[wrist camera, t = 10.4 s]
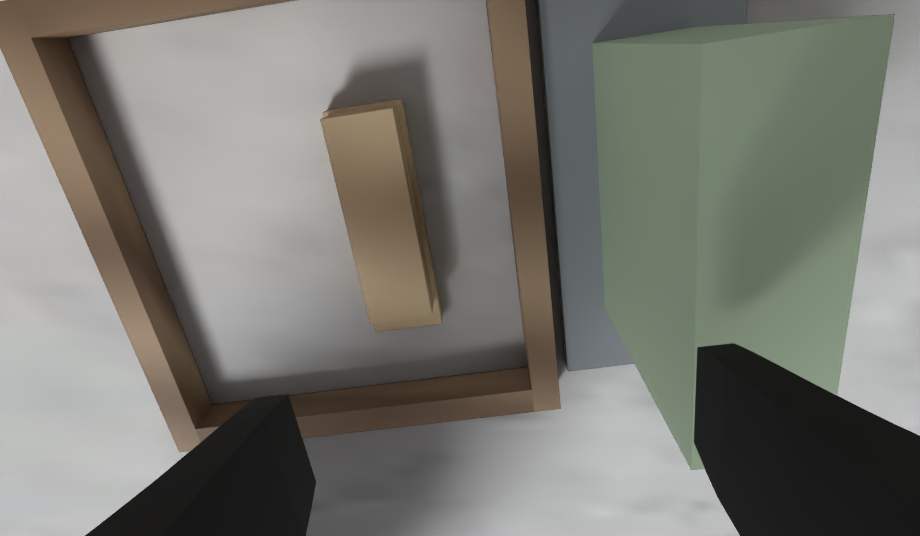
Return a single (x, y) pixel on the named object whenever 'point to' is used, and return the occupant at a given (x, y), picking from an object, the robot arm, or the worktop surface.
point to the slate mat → (594, 148)
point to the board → (735, 194)
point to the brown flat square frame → (138, 278)
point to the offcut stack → (383, 213)
